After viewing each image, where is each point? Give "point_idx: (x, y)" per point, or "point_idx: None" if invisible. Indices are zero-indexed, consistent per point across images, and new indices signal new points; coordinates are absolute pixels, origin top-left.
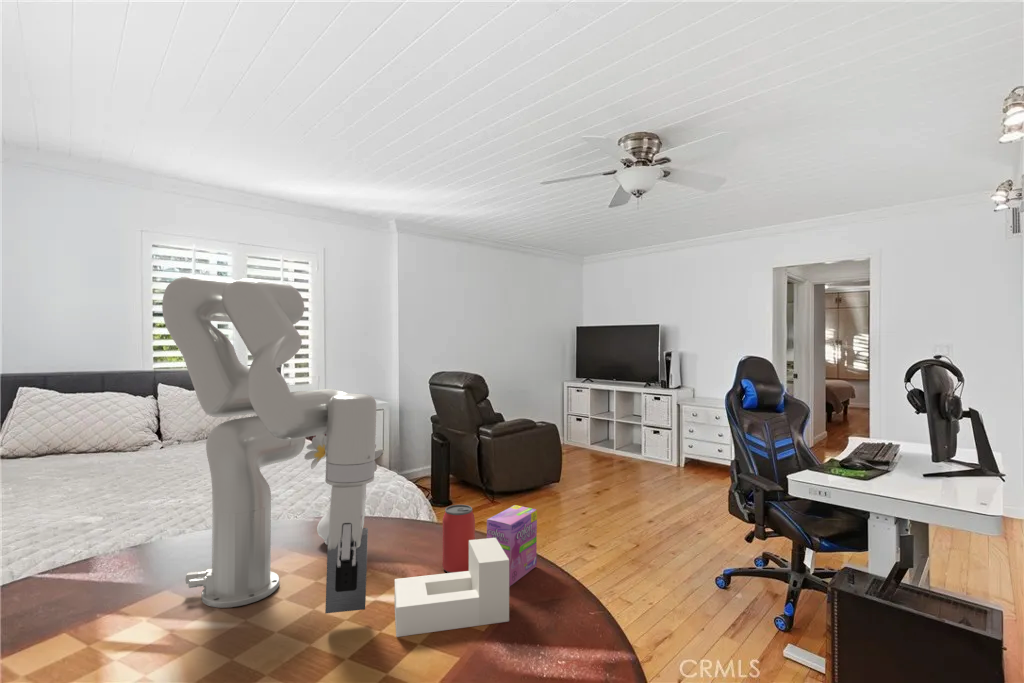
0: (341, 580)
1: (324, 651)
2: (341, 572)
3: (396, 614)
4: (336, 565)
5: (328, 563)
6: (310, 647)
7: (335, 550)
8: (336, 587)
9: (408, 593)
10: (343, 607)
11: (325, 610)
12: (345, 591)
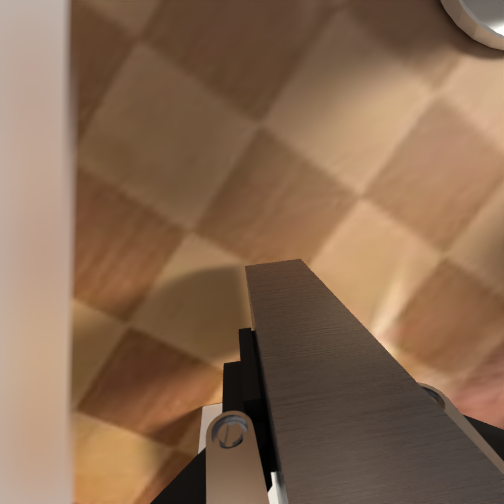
0: (223, 382)
1: (159, 271)
2: (223, 411)
3: (198, 452)
4: (256, 400)
5: (264, 367)
6: (178, 235)
7: (281, 482)
8: (239, 338)
9: (272, 483)
10: (251, 317)
11: (245, 269)
12: None
